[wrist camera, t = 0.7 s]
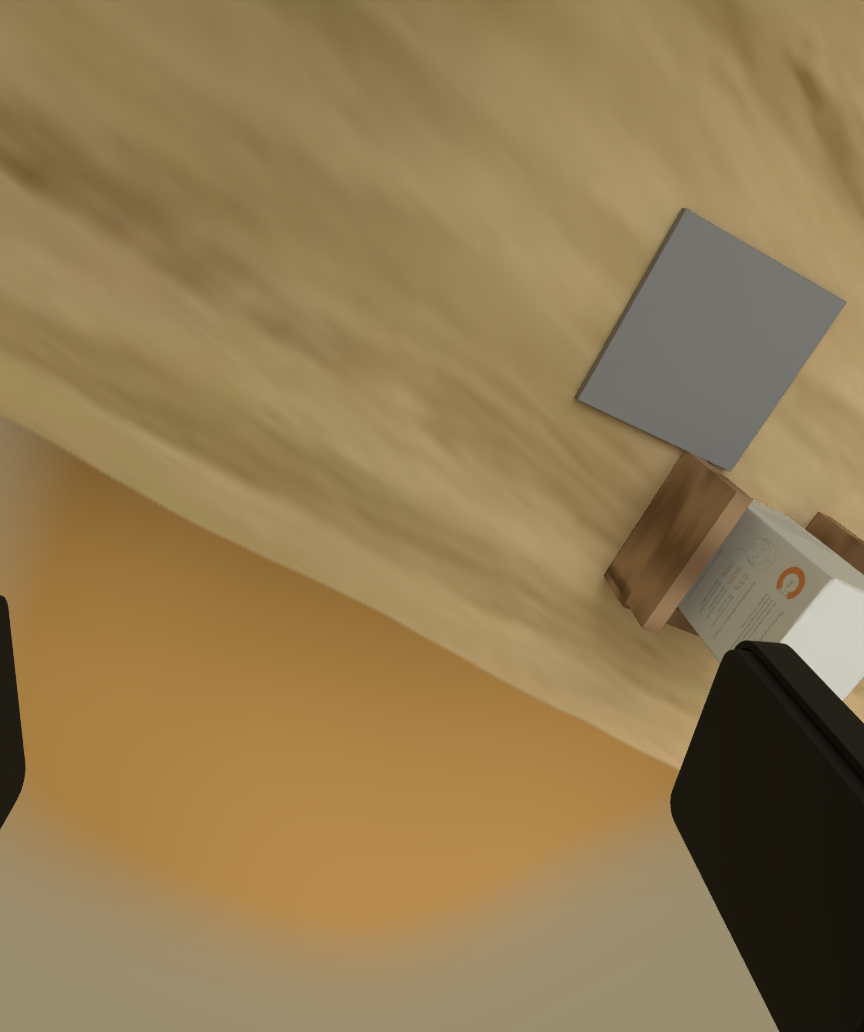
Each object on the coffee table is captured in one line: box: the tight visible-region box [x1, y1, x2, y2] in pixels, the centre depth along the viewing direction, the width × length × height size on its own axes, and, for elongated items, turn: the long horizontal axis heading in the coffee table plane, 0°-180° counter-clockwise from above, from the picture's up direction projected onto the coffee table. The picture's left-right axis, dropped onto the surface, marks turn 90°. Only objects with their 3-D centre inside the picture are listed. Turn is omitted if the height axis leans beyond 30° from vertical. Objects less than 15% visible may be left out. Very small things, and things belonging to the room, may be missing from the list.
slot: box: [604, 450, 864, 636], centre depth 47 cm, size 10×13×7 cm
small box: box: [677, 499, 864, 701], centre depth 44 cm, size 8×6×13 cm
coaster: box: [576, 208, 847, 472], centre depth 43 cm, size 12×12×1 cm
